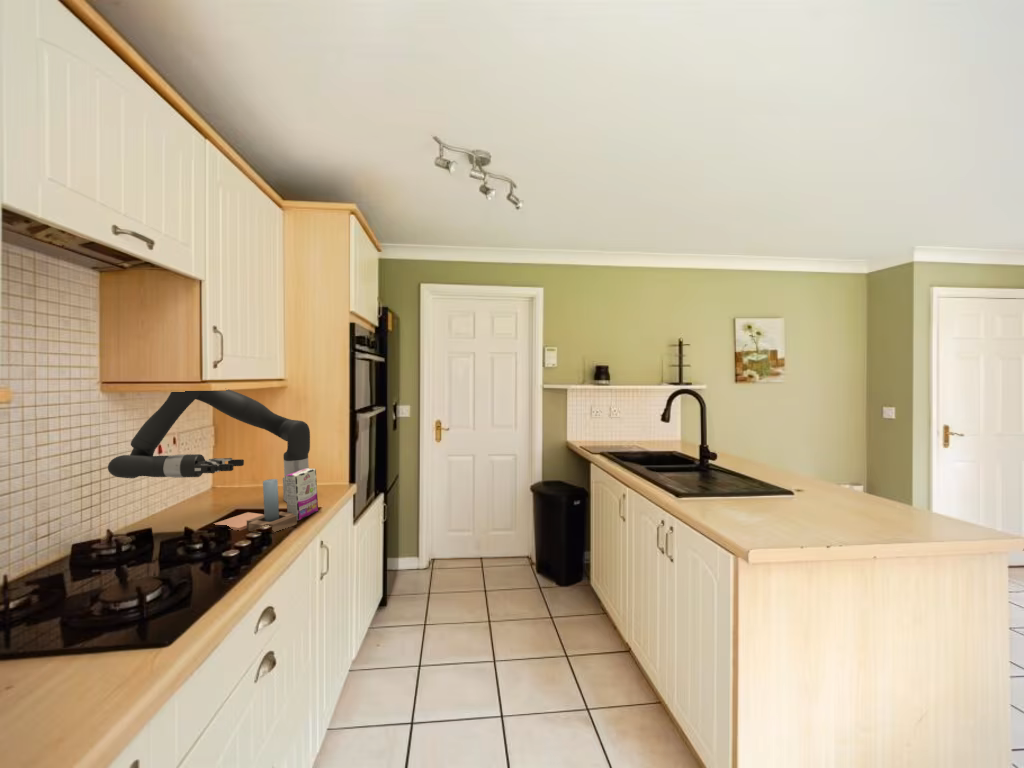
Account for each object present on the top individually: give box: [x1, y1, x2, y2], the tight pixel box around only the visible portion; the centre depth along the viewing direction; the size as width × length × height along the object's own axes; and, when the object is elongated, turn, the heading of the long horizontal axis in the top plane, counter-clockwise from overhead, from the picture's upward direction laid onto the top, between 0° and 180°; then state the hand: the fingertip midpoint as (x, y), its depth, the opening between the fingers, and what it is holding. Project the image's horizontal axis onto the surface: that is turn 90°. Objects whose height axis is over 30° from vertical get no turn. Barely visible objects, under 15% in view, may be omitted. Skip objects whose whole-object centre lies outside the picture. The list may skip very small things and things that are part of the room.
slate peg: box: [262, 478, 280, 522], centre depth 152 cm, size 4×4×16 cm
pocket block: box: [246, 511, 298, 533], centre depth 152 cm, size 12×12×3 cm
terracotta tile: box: [213, 511, 264, 532], centre depth 158 cm, size 13×13×1 cm
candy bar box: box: [285, 467, 319, 521], centre depth 164 cm, size 11×5×16 cm, turn 168°
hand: (238, 464), depth 150 cm, fingers open, 8 cm apart
